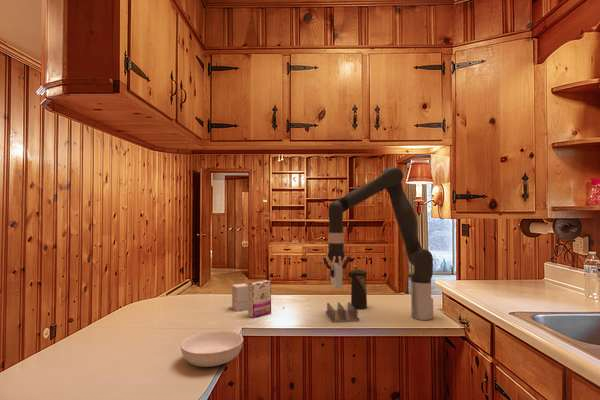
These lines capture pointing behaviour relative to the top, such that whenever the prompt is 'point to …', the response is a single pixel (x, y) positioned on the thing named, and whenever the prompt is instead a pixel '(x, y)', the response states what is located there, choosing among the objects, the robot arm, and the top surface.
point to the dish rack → (342, 313)
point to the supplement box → (240, 297)
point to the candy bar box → (259, 298)
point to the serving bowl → (211, 347)
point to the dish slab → (337, 277)
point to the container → (358, 289)
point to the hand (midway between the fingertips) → (336, 277)
